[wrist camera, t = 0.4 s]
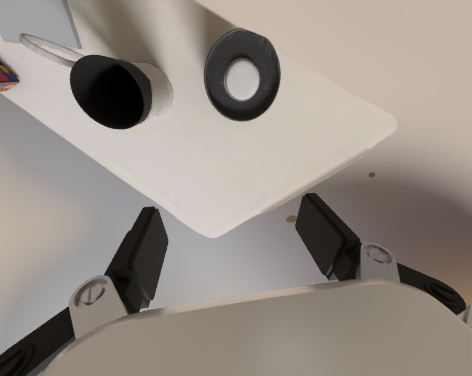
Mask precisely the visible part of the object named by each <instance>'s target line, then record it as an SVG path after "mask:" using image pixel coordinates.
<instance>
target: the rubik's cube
mask: <svg viewBox="0 0 472 376" xmlns="http://www.w3.org/2000/svg"><path fill="white" fill-rule="evenodd" d="M18 82H20V81H19V80H18V79H17V78H16V77H15V76H14V75H13V74H12V73H10V72H9V71H8V70H7V69H6V68H5V67H4V66H3V64H2V63H1V62H0V92H2V91H7V90H8V89H10V88H11V87H13V86H14V85H16V84H17V83H18Z"/></svg>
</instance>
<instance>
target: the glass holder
mask: <svg viewBox="0 0 472 376" xmlns="http://www.w3.org/2000/svg"><path fill="white" fill-rule="evenodd" d="M19 41H20V42H21V43H22V44H23V45H25V46H26V47H27V48H29V49H30V50H32V51H34V52H35V53H37V54H39V55H41V56H43V57H45V58H47V59H49V60H51V61H54V62H56V63H59V64H61V65H65V66H68V67H72V70H71V73H70V85H71V89H72V93H73V95H74V97H75V99H76V101H77V103H78V104H79V106H80V107H81V108H82V109H83V111H84V112H85V113H86V114H87V115H88V116H89V117H91V118H92V119H93V120H95V121H96V122H98V123H100V124H101V125H104V126H106V127H109V128H112V129H128V128H131V127H133V126H135V125H137V124H141V123H143V122H145V121H147V120H149V119H150V118H152V117H154V116H158V115H162V114H164V113H165V112H167V111H168V110H169V109H170V107H171V105H172V102H173V89H172V86H171V83H170V81H169V79H168V78H167V76H166V75H165V74H164V73H163V72H162V71H161V70H160V69H159V68H157V67H156V66H154V65H151V64H149V63H134V62H131V61H127V60H123V59H113V58H109V57H106V56H101V55H88V56H83V55H81V54H79V53H77V52H75V51H73V50H70V49H68V48H66V47H63V46H61V45H59V44H56V43H54V42H51V41H48V40H46V39H43V38H40V37H36V36H33V35H30V34H25V33H21V34H20V35H19ZM32 42H33V43H32ZM34 43H36V44H40V45H43V46H46V47H49V48H52V49H55V50H58V51H60V52H63V53H65V54H68V55H70V56H73V57H75V58H77V59H79V60H78V61H77V62H75V61H71V60H67V59H64V58H62V57H59V56H57V55H54V54H52V53H50V52H48V51H46V50H44V49H42V48H40V47H38V46H37V45H35V44H34Z"/></svg>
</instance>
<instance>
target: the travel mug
mask: <svg viewBox="0 0 472 376" xmlns="http://www.w3.org/2000/svg"><path fill="white" fill-rule="evenodd" d="M280 76H281V72H280V63H279V59H278V56H277V54H276V51H275V49H274V47H273V45H272V44H271V42H270V41H269V40H268V39H267V38H266V37H263V36H261V35H258V34H256V33H254V32H251V31H248V30H245V29H243V28H237V29H234V30H232V31H230V32H228V33H226V34H225V35H223V36H222V37H221V38H220V39H219V40H217V42H216V43H215V44H214V45H213V47H212V49H211V50H210V52H209V54H208V57H207V60H206V63H205V69H204V83H205V89H206V92H207V95H208V98H209V100H210V102H211V103H212V105H213V106H214V108H215V109H216V110H217V111H218V112H219V113H220V114H221V115H223V116H224V117H226V118H228V119H231V120H234V121H249V120H253V119H255V118H257V117H259V116H261V115H262V114H263V113H264V112H265V111H266V110H268V108H269V107H270V106H271V104H272V103H273V101H274V99H275V97H276V95H277V92H278V89H279V85H280Z"/></svg>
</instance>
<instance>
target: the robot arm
mask: <svg viewBox="0 0 472 376" xmlns="http://www.w3.org/2000/svg"><path fill="white" fill-rule="evenodd" d="M295 227H296V230H297V232H298V233H299V235H300V237H301V239H302V240H303V242H304V244H305V245H306V247H307V249H308V250H309V252H310V254H311V255H312V257H313V259H314V261H315V262H316V264H317V266H318V267H319V269H320V271H321V273H322V274H323V275H326V277H327V279H328V280H329V281H330V280H336V279H338V280H339V281H338V282H330V283H322V284H316V285H308V286H301V287H294V288H287V289H281V290H274V291H267V292H260V293H254V294H247V295H240V296H234V297H227V298H221V299H214V300H208V301H201V302H195V303H189V304H183V305H176V306H170V307H165V308H159V309H153V310H147V311H143V312H139V311H140V309H141V308H147V307H149V303H150V300H153V298H154V296H155V292H156V288H157V284H158V281H159V277H160V273H161V269H162V265H163V261H164V257H165V253H166V250H167V246H168V237H167V234H166V231H165V228H164V225H163V222H162V219H161V216H160V213H159V210H158V209H155V207H144V208H143V209H142V211H141V212H140V214H139V216H138V218H137V220H136V222H135V223H134V225H133V227H132V229H131V230H130V231H129V232H128V233H127V234H126V236H125V238H124V239H123V241H122V243H121V245H120V247H119V249H118V250H117V252H116V254H115V256H114V258H113V259H112V261H111V263H110V265H109V267H108V268H107V270H106V272H105V274H104V275H100V276H96V277H93V278H91V279H89V280H87V281H86V282H84V283H83V284H82V285H80V286H79V288H77V289H76V290H75V292H74V293H73V294H72V296H71V298H70V301H69V307H67V308H66V309H64V310H63V311H61V312H60V313H58V314H57V315H55V316H54V317H53V318H51V319H50V320H48V321H47V322H46V323H45V324H43V325H41V326H40V327H39V328H37V329H36V330H34V331H33V332H32V333H30V334H29V335H27V336H26V337H24V338H23V339H21V340H20V341H19V342H17V343H16V344H14V345H13V346H12V347H10V348H9V349H7V350H6V351H5V352H4V353H2V354H1V355H0V376H472V304H470V305H466V303H465V302H464V300H463V298H462V297H461V296H460V295H459V294H458V293H457V292H456V291H455V290H454V289H452V288H451V287H449V286H448V285H446V284H445V283H443V282H441V281H439V280H437V279H434V278H432V277H430V276H427V275H425V274H422V273H420V272H418V271H416V270H413V269H411V268H408V267H406V266H403V265H401V264H399V263H397V262H396V259H395V257H394V256H393V254H392V253H391V252H389V251H388V250H387V249H386V248H384V247H382V246H380V245H378V244H375V243H371V242H366V243H363V244H362V243H361V242H360V238H359V237H357V235H356V234H355V233H354V232H353V231H352V230H351V229H350V228H349V227H348V226H347V225H346V224H345V223H344V222H343V221H342V220H341V219H340V218H339V217H338V216H337V215H336V214H335V213H334V212H333V211H332V210H331V209H330V208H329V206H328V205H327V204H326V203H325V202H324V201H323V200H322V199H321V198H320V197H319V196H318V195H317V194H316V193H307V194H305V196H303V197H302V201H301V205H300V209H299V212H298V216H297V220H296V225H295Z"/></svg>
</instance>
